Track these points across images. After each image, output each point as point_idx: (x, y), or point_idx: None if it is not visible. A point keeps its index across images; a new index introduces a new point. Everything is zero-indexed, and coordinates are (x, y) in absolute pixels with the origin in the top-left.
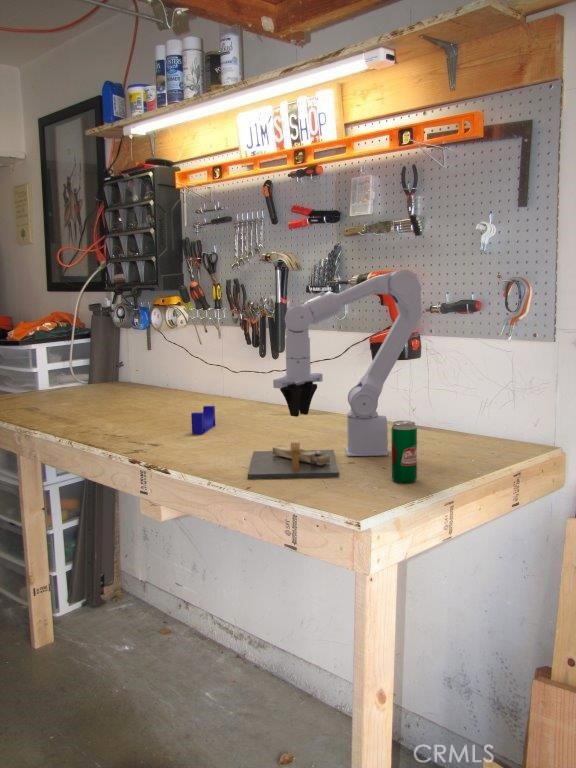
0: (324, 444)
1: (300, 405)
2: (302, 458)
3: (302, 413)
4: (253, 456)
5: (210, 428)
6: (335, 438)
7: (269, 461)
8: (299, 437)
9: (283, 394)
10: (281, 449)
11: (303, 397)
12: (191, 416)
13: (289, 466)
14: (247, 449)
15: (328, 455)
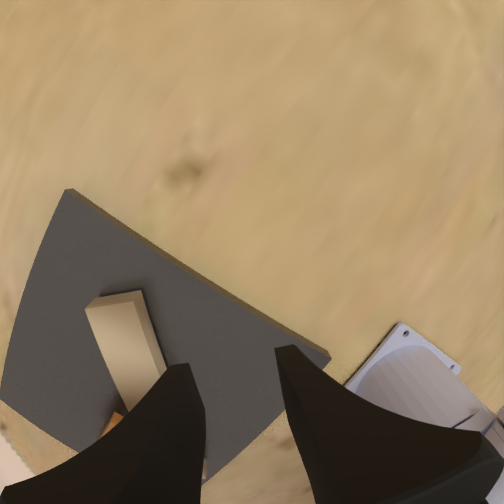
0: (401, 213)
1: (288, 389)
2: None
3: (278, 370)
4: (38, 262)
5: None
6: (473, 167)
7: (62, 351)
8: (395, 50)
9: (59, 474)
10: (103, 354)
11: (312, 470)
12: None
13: (97, 422)
14: (106, 80)
15: (202, 478)
